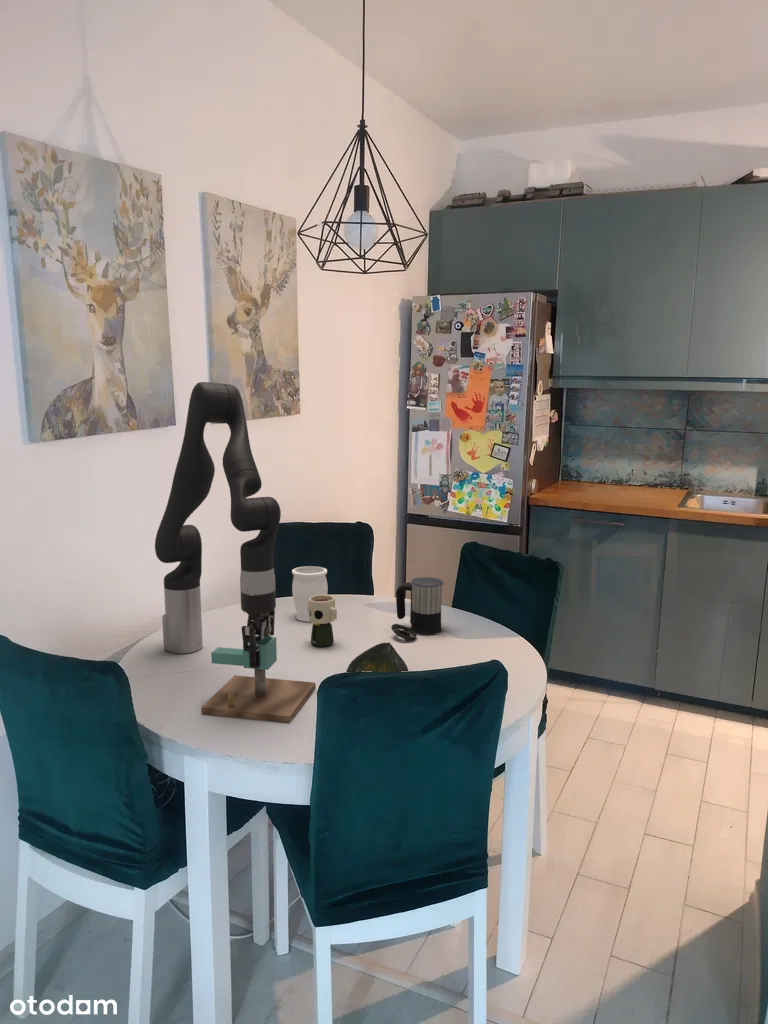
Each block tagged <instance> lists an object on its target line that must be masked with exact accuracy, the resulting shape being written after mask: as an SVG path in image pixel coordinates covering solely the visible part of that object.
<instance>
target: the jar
mask: <svg viewBox="0 0 768 1024" xmlns="http://www.w3.org/2000/svg"><path fill="white" fill-rule="evenodd" d="M291 574H292V575H293V578H292V586H291V590H292V592H291V593H292V597H293V603H294V607H295V610H296V612H297V614H296V619H297V620H299V621H301V622H307V623H309V622H310V623H312V622H311V621H310V620H309V612H308V604H307V603H308V601H309V598H310V597H311V596H314V595H328V591H329V590H328V581H327V577H326V575H327V574H328V569H327V568H325V567H323V566H317V565H316V566H314V565H313V566H312V565H309V566H306V565H305V566H299V567H295V568H293V569H291Z"/></svg>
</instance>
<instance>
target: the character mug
mask: <svg viewBox="0 0 768 1024" xmlns="http://www.w3.org/2000/svg"><path fill="white" fill-rule="evenodd" d="M307 604H308V612H309V620H310V621H311V622H310V623H312V628H311V634H310V635H311V636H310V643H311V645H313V644H314V643H315V644H314V646H318V647H324V646H329V645H330V644H332V643H334V631H333V625H332V622H335V621H336V620H337V617H338V610H337V608H336V598H335V596H333V595H330V594H327V595H314V596H311V597H310V598H309V601H308V603H307Z"/></svg>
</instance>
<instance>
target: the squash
mask: <svg viewBox="0 0 768 1024" xmlns="http://www.w3.org/2000/svg"><path fill="white" fill-rule="evenodd" d="M362 671H365V672H366V671H372V672H401V671H409V668H408V666H407V664H406V662H405V660H404V659H403V657H401V656H400V655H399V653H398V652H397V650H396V649H395V647H394V646H393V645H392V644H391V642H381V643H378V644H376V645H374V646H372V647H369V648H368V649H366V650H364V651H363V652H362V653H360V654H359V655H357V656H356V657H354V659H352V660H351V662H350V663H349V665H348V666H347V669H346V672H362Z"/></svg>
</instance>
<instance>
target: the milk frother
mask: <svg viewBox="0 0 768 1024" xmlns="http://www.w3.org/2000/svg"><path fill="white" fill-rule="evenodd" d="M443 585H444V580H443V579H440V578H436V577H431V576H430V577H429V576H422V577H421V576H419V577H415V578H413V579H411V580H410V582H404V583H402V584H401V585H399V586H398V587H397V588H396V592H395V600H396V601H395V602H396V604H395V605H396V617H397V618H398V620H403V619H404V618H406V591H410V612H409V613H410V618H409V619H410V620H409V623H410V627H408V626H405V625H402V624H398V623H393V624H392V625H391V626H390V627H391V630H392V632H393V633H394V634H395V635H397V636H398V637H399V638H401V639H404V641H413V640H415V639H416V638H417V635H422V636H432V635H433V636H434V635H437V634H440V633H441V632H443V628H442V605H443V604H442V601H443V599H442V596H443Z"/></svg>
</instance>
